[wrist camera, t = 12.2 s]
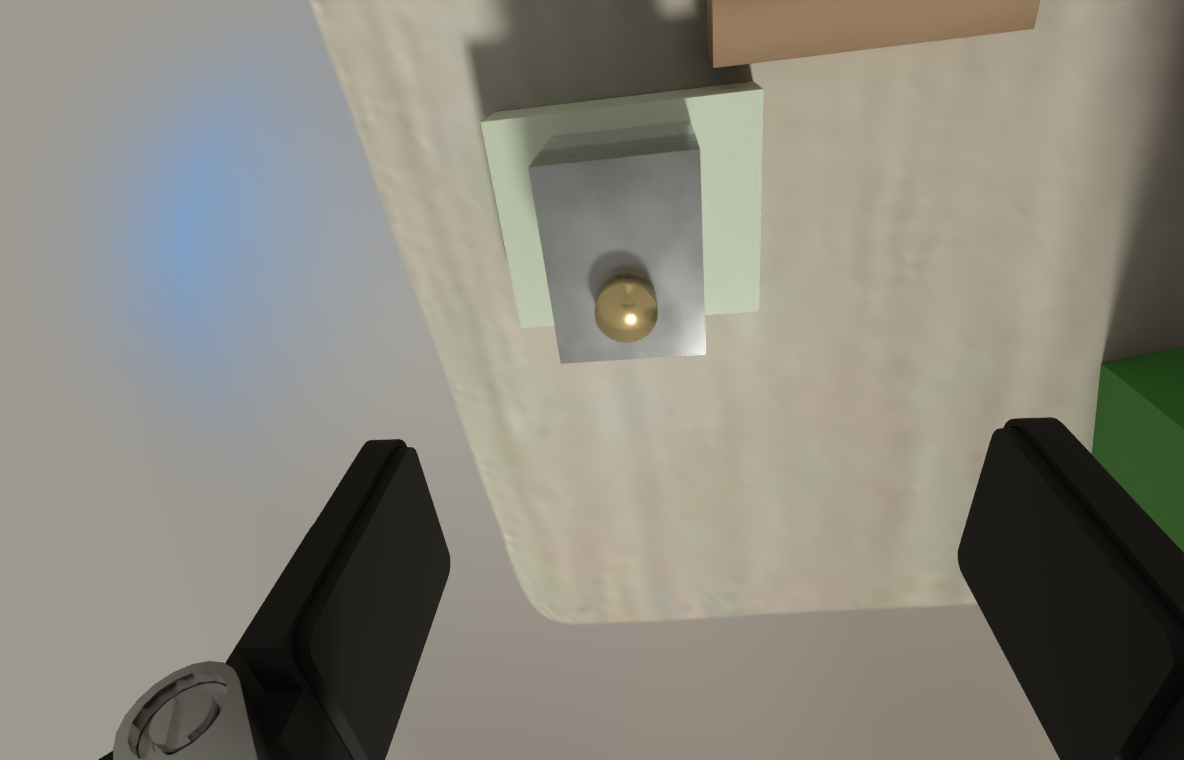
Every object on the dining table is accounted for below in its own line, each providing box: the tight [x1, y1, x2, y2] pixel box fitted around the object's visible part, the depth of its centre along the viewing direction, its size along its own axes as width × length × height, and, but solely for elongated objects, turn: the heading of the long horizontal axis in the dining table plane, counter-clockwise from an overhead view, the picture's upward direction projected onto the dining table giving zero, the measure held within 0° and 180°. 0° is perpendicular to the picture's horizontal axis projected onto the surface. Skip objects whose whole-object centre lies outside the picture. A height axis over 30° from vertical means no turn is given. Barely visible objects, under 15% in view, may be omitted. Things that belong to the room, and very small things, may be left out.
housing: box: [528, 121, 706, 364], centre depth 26 cm, size 8×6×7 cm
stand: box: [480, 81, 764, 328], centre depth 30 cm, size 10×12×3 cm
